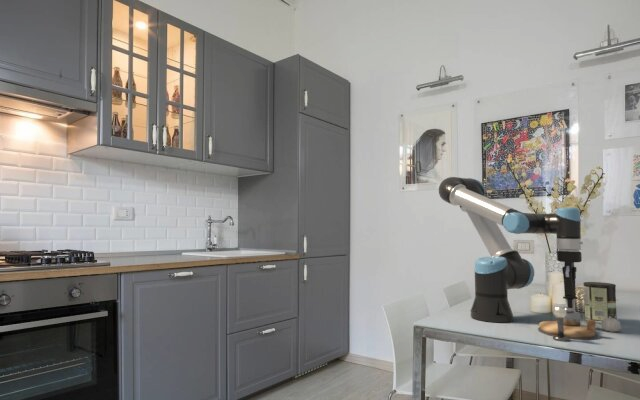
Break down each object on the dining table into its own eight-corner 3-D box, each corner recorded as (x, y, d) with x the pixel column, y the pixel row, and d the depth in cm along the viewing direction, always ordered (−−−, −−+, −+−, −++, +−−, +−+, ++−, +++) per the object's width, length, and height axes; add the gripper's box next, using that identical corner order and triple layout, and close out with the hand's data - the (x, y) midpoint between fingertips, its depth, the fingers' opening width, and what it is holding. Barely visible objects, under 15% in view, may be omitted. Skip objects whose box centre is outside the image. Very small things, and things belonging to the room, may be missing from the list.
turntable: (534, 332, 137) (534, 317, 137) (544, 323, 149) (544, 310, 149) (592, 340, 127) (591, 325, 127) (597, 331, 139) (597, 316, 139)
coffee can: (609, 318, 161) (607, 282, 162) (622, 324, 151) (621, 285, 152) (579, 317, 163) (578, 281, 164) (591, 323, 153) (590, 284, 154)
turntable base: (532, 333, 137) (532, 332, 137) (543, 324, 150) (543, 323, 150) (594, 342, 126) (594, 341, 126) (599, 332, 139) (599, 331, 139)
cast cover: (555, 324, 141) (554, 308, 141) (558, 320, 146) (558, 305, 147) (579, 327, 137) (578, 310, 137) (581, 323, 142) (581, 307, 142)
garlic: (612, 333, 137) (611, 318, 138) (597, 330, 142) (596, 314, 143) (625, 332, 139) (625, 317, 139) (610, 328, 144) (610, 313, 144)
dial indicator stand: (551, 339, 129) (550, 306, 130) (555, 335, 135) (555, 303, 135) (567, 342, 126) (567, 308, 127) (571, 337, 132) (570, 305, 132)
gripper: (579, 251, 140) (581, 322, 139) (583, 250, 150) (585, 315, 149) (554, 250, 145) (555, 318, 143) (559, 249, 155) (561, 313, 153)
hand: (570, 317), depth 146 cm, fingers closed
